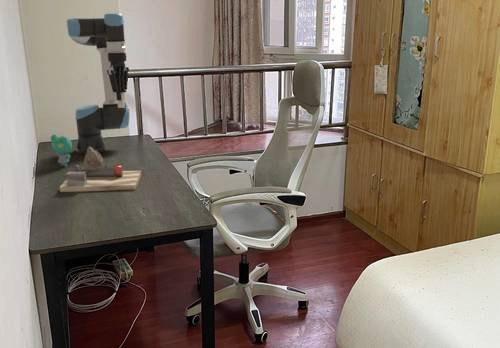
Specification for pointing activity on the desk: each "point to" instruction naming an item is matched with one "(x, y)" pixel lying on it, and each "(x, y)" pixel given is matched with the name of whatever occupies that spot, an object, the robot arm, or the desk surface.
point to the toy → (61, 148)
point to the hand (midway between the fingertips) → (121, 107)
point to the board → (99, 181)
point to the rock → (93, 159)
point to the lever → (103, 171)
